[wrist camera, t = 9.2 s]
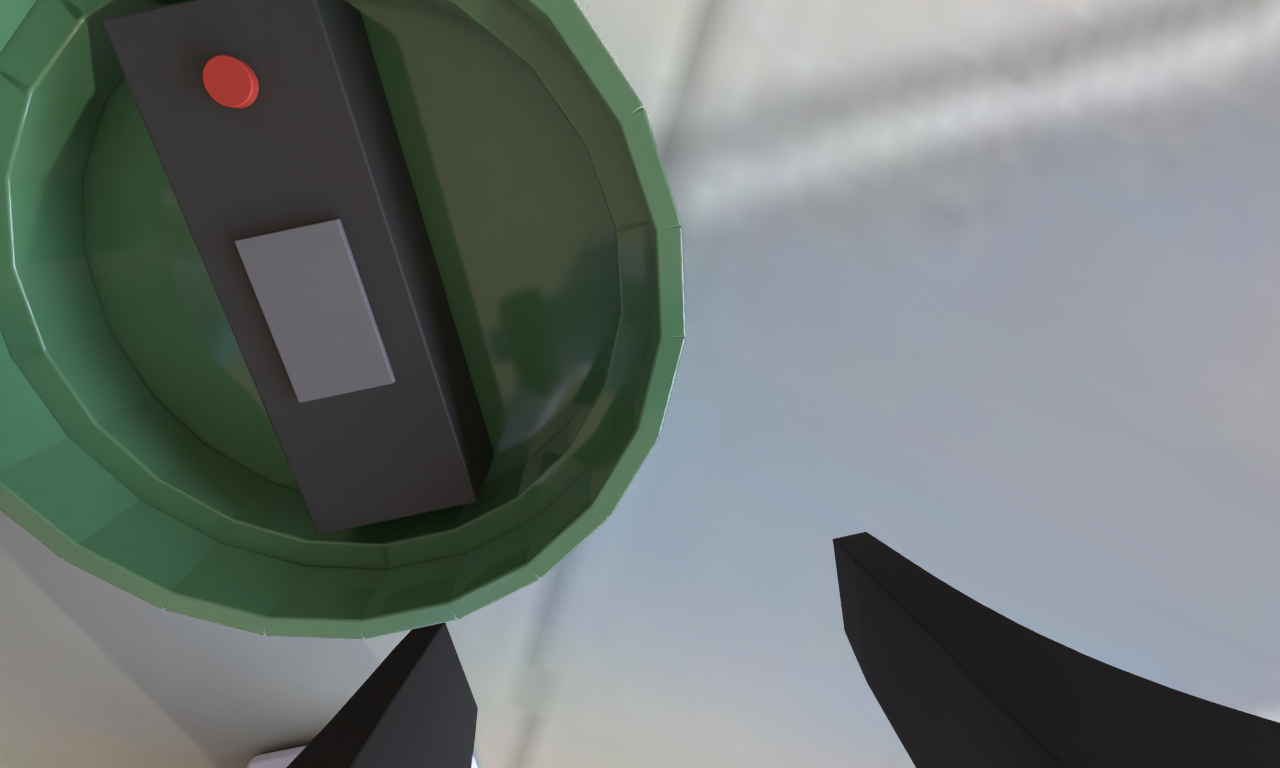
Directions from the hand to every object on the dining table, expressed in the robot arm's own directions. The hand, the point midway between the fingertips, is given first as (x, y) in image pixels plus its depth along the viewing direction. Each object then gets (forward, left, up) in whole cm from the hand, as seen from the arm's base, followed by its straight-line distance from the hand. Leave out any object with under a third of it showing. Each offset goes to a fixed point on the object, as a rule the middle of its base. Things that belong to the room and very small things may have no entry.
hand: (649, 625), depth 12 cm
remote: (+7, +6, -9) cm, 13 cm away
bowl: (+6, +6, -9) cm, 13 cm away
